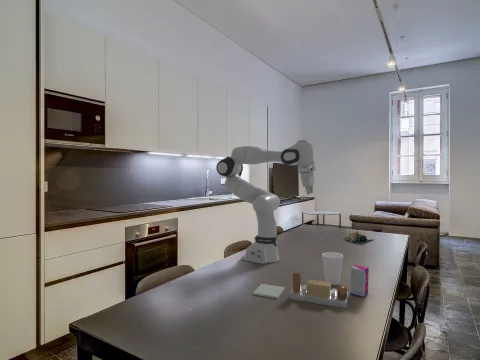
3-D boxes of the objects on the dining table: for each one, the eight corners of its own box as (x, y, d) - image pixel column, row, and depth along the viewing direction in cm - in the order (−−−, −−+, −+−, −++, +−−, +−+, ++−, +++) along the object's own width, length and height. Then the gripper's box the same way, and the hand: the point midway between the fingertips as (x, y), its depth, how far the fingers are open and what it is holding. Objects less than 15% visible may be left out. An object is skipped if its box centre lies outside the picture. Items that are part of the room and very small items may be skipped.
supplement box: (364, 298, 122) (364, 270, 122) (349, 294, 126) (349, 267, 126) (368, 293, 126) (368, 266, 126) (354, 290, 130) (354, 264, 130)
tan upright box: (306, 293, 121) (306, 283, 121) (309, 288, 126) (309, 279, 126) (329, 296, 118) (329, 286, 118) (331, 291, 122) (331, 282, 122)
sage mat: (252, 294, 127) (252, 292, 127) (261, 285, 137) (261, 283, 137) (278, 298, 122) (278, 296, 122) (284, 289, 132) (284, 287, 132)
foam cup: (336, 278, 146) (336, 251, 145) (347, 284, 137) (347, 256, 136) (318, 279, 144) (318, 252, 143) (328, 286, 135) (328, 258, 134)
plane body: (289, 299, 122) (289, 275, 122) (295, 290, 131) (295, 268, 131) (346, 308, 113) (346, 283, 113) (348, 298, 122) (348, 275, 122)
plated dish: (347, 234, 251) (347, 226, 251) (382, 239, 232) (382, 230, 231) (327, 242, 225) (327, 232, 225) (365, 249, 206) (365, 238, 206)
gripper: (304, 169, 177) (307, 192, 177) (297, 169, 158) (301, 195, 158) (315, 168, 174) (318, 191, 174) (309, 168, 155) (313, 194, 155)
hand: (310, 193), depth 166 cm, fingers open, 8 cm apart
